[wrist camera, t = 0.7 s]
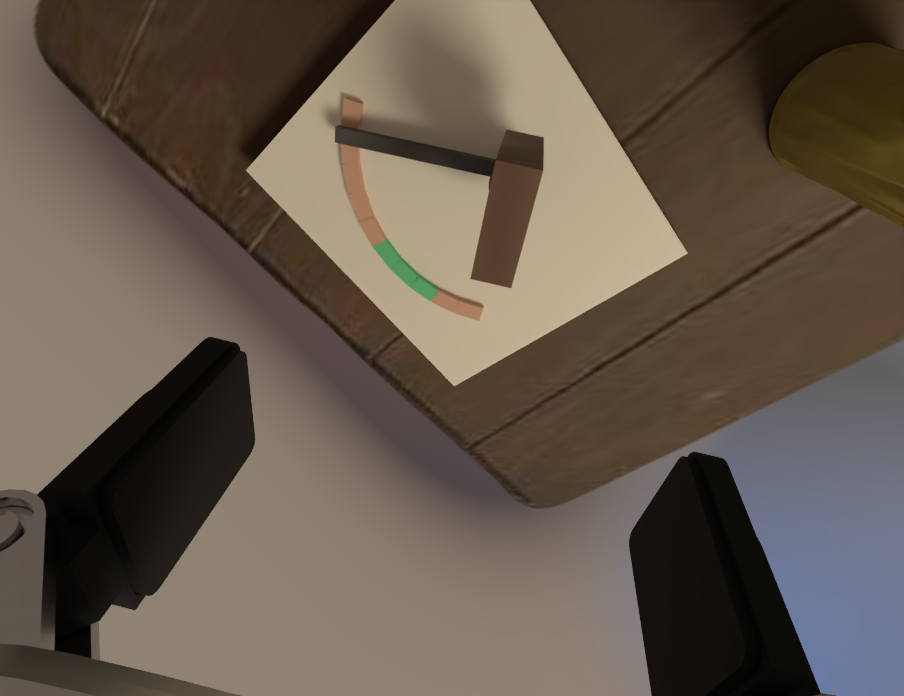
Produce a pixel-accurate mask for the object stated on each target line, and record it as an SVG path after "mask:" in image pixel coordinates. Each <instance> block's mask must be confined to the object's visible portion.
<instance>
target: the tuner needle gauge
mask: <svg viewBox="0 0 904 696" xmlns="http://www.w3.org/2000/svg"><path fill="white" fill-rule="evenodd" d="M335 143H339V144H344V145H348V146H353V147H357V148H362V149H367V150H371V151H376V152H380V153H385V154H389V155H394V156H398V157H403V158H407V159H412V160H416V161H421V162H425V163H430V164H435V165H439V166H444V167H448V168H453V169H457V170H462V171H466V172H471V173H475V174H480V175H484V176H489V177H490V179H489V194H488V199H487V203H486V208H485V213H484V217H483V222H482V227H481V231H480V236H479V241H478V245H477V250H476V255H475V259H474V264H473V269H472V273H471V278H470V279H472V280H477V281H481V282H486V283H490V284H494V285H499V286H503V287H508V288H511V287H512V284H513V280H514V276H515V273H516V269H517V265H518V262H519V258H520V254H521V251H522V247H523V243H524V240H525V236H526V232H527V229H528V225H529V221H530V218H531V214H532V210H533V207H534V203H535V199H536V196H537V192H538V188H539V185H540V181H541V177H542V174H543V160H544V137H540V136H535V135H530V134H526V133H521V132H517V131H512V130H507V129H506V132H505V135H504V138H503V141H502V143H501V146H500V149H499V152H498V155H497V158H496V159H492V158H487V157H483V156H478V155H474V154H469V153H465V152H460V151H455V150H451V149H446V148H442V147H437V146H433V145H428V144H424V143H419V142H414V141H410V140H405V139H401V138H396V137H392V136H387V135H382V134H378V133H373V132H369V131H364V130H360V129H355V128H350V127H346V126H341V125H338V126H336V127H335Z"/></svg>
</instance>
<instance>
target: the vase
mask: <svg viewBox="0 0 904 696" xmlns="http://www.w3.org/2000/svg"><path fill="white" fill-rule="evenodd" d="M769 141H770V146H771V150H772V152H773V154H774V156H775V157H776V159H777V160H778V161H779V162H780V163H781V164H782V166H784V167H785V168H786V169H787V170H789V171H790V172H792V173H796V174H800V175H803V176H805V177H807V178H809V179H811V180H813V181H816V182H818V183H820V184H822V185H823V186H825V187H828V188H830V189H832V190H834V191H836V192H839V193H840V194H842V195H844V196H846V197H847V198H849V199H851V200H853V201H855V202H857V203H858V204H860V205H862V206H864V207H866V208H868V209H870V210H872V211H874V212H876V213H878V214H880V215H882V216H884V217H886V218H887V219H889V220H891V221H893V222H895V223H897V224H899V225H901V226H903V227H904V50H900V49H895V48H889V47H887V46H884V45H881V44H879V43H859V44H852V45H847V46H843V47H840V48H837V49H834V50H832V51H830V52H828V53H826V54H824V55H822V56H820V57H819V58H817V59H815V60H814V61H812V62H811V63H810V64H808V65H807V66H806V67H805V68H804V69H802V70H801V71H800V72H799V73H798V74H797V75H796V76H795V77H794V78H793V79H792V80H791V81H790V83H789V84H788V85H787V87H786V88H785V89H784V91H783V92H782V94H781V96H780V97H779V99H778V101H777V103H776V106H775V108H774V111H773V114H772V117H771V120H770V125H769Z"/></svg>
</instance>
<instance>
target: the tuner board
mask: <svg viewBox="0 0 904 696" xmlns="http://www.w3.org/2000/svg"><path fill="white" fill-rule="evenodd" d="M338 125H341V126H346V127H350V128H355V129H360V130H364V131H369V132H373V133H378V134H382V135H387V136H392V137H396V138H401V139H405V140H410V141H414V142H419V143H424V144H428V145H433V146H437V147H442V148H446V149H451V150H455V151H460V152H465V153H469V154H474V155H478V156H483V157H487V158H492V159H496V158H497V155H498V152H499V149H500V146H501V143H502V141H503V138H504V135H505V132H506V129H507V130H512V131H517V132H521V133H526V134H530V135H535V136H540V137H544V160H543V174H542V177H541V181H540V185H539V188H538V192H537V196H536V199H535V203H534V207H533V210H532V214H531V218H530V221H529V225H528V229H527V232H526V236H525V240H524V243H523V247H522V251H521V254H520V258H519V262H518V265H517V269H516V273H515V276H514V280H513V284H512V287H511V288H508V287H503V286H499V285H494V284H490V283H486V282H481V281H477V280H472V279H470V278H471V273H472V269H473V264H474V259H475V255H476V250H477V245H478V241H479V236H480V231H481V227H482V222H483V217H484V213H485V208H486V203H487V199H488V194H489V179H490V177H489V176H484V175H480V174H475V173H471V172H466V171H462V170H457V169H453V168H448V167H444V166H439V165H435V164H430V163H425V162H421V161H416V160H412V159H407V158H403V157H398V156H394V155H389V154H385V153H380V152H376V151H371V150H367V149H362V148H357V147H353V146H348V145H344V144H339V143H335V127H336V126H338ZM246 171H247V172H248V173H249V174H250V175H251V176H252V177H253V178H254V179H255V180H256V181H257V182H258V183H259V184H260V186H261V187H262V188H263V189H264V190H265V191H266V192H267V193H268V194H269V195H270V196H271V197H272V198H273V199H274V200H275V201H276V202H277V203H278V204H279V205H280V206H281V207H282V208H283V209H284V210H285V211H286V212H287V213H288V215H289V216H290V217H291V218H292V219H293V220H294V221H295V222H296V223H297V224H298V225H299V226H300V227H301V228H302V229H303V230H304V231H305V232H306V233H307V234H308V235H309V236H310V237H311V238H312V239H313V240H314V241H315V243H316V244H317V245H318V246H319V247H320V248H321V249H322V250H323V251H324V252H325V253H326V254H327V255H328V256H329V257H330V258H331V259H332V260H333V261H334V262H335V263H336V264H337V265H338V266H339V267H340V268H341V269H342V270H343V272H344V273H345V274H346V275H347V276H348V277H349V278H350V279H351V280H352V281H353V282H354V283H355V284H356V285H357V286H358V287H359V288H360V289H361V290H362V291H363V292H364V293H365V294H366V295H367V296H368V297H369V298H370V299H371V301H372V302H373V303H374V304H375V305H376V306H377V307H378V308H379V309H380V310H381V311H382V312H383V313H384V314H385V315H386V316H387V317H388V318H389V319H390V320H391V321H392V322H393V323H394V324H395V325H396V326H397V327H398V328H399V330H400V331H401V332H402V333H403V334H404V335H405V336H406V337H407V338H408V339H409V340H410V341H411V342H412V343H413V344H414V345H415V346H416V347H417V348H418V349H419V350H420V351H421V352H422V353H423V354H424V355H425V356H426V357H427V359H428V360H429V361H430V362H431V363H432V364H433V365H434V366H435V367H436V368H437V369H438V370H439V371H440V372H441V373H442V374H443V375H444V376H445V377H446V378H447V379H448V380H449V381H450V382H451V383H452V384H453V385H454V386H455V385H457V384H459V383H461V382H463V381H464V380H466V379H468V378H470V377H471V376H473V375H475V374H477V373H478V372H480V371H482V370H484V369H485V368H487V367H489V366H491V365H492V364H494V363H496V362H498V361H499V360H501V359H503V358H505V357H506V356H508V355H510V354H512V353H513V352H515V351H517V350H519V349H521V348H522V347H524V346H526V345H528V344H529V343H531V342H533V341H535V340H536V339H538V338H540V337H542V336H543V335H545V334H547V333H549V332H550V331H552V330H554V329H556V328H557V327H559V326H561V325H563V324H564V323H566V322H568V321H570V320H571V319H573V318H575V317H577V316H579V315H580V314H582V313H584V312H586V311H587V310H589V309H591V308H593V307H594V306H596V305H598V304H600V303H601V302H603V301H605V300H607V299H608V298H610V297H612V296H614V295H615V294H617V293H619V292H621V291H622V290H624V289H626V288H628V287H629V286H631V285H633V284H635V283H637V282H638V281H640V280H642V279H644V278H645V277H647V276H649V275H651V274H652V273H654V272H656V271H658V270H659V269H661V268H663V267H665V266H666V265H668V264H670V263H672V262H673V261H675V260H677V259H679V258H680V257H682V256H684V255H686V254H687V251H686V250H685V248H684V246H683V245H682V243H681V242H680V240H679V238H678V237H677V235H676V233H675V232H674V230H673V229H672V227H671V225H670V224H669V222H668V221H667V219H666V217H665V216H664V214H663V213H662V211H661V209H660V208H659V206H658V205H657V203H656V201H655V200H654V198H653V197H652V195H651V193H650V192H649V190H648V189H647V187H646V185H645V184H644V182H643V181H642V179H641V177H640V176H639V174H638V173H637V171H636V169H635V168H634V166H633V165H632V163H631V161H630V160H629V158H628V157H627V155H626V153H625V152H624V150H623V148H622V147H621V145H620V144H619V142H618V140H617V139H616V137H615V136H614V134H613V132H612V131H611V129H610V128H609V126H608V124H607V123H606V121H605V120H604V118H603V116H602V115H601V113H600V112H599V110H598V108H597V107H596V105H595V104H594V102H593V100H592V99H591V97H590V96H589V94H588V92H587V91H586V89H585V88H584V86H583V84H582V83H581V81H580V80H579V78H578V76H577V75H576V73H575V71H574V70H573V68H572V67H571V65H570V63H569V62H568V60H567V59H566V57H565V55H564V54H563V52H562V51H561V49H560V47H559V46H558V44H557V43H556V41H555V39H554V38H553V36H552V35H551V33H550V31H549V30H548V28H547V27H546V25H545V23H544V22H543V20H542V19H541V17H540V15H539V14H538V12H537V11H536V9H535V7H534V6H533V4H532V3H531V1H530V0H395V1H394V2H393V3H392V4H391V5H390V6H389V8H388V9H387V10H386V11H385V12H384V13H383V14H382V16H381V17H380V18H379V19H378V20H377V21H376V22H375V24H374V25H373V26H372V27H371V28H370V29H369V30H368V32H367V33H366V34H365V35H364V36H363V37H362V38H361V40H360V41H359V42H358V43H357V44H356V45H355V46H354V48H353V49H352V50H351V51H350V52H349V53H348V54H347V56H346V57H345V58H344V59H343V60H342V61H341V62H340V64H339V65H338V66H337V67H336V68H335V69H334V70H333V72H332V73H331V74H330V75H329V76H328V77H327V78H326V80H325V81H324V82H323V83H322V84H321V85H320V86H319V88H318V89H317V90H316V91H315V92H314V93H313V94H312V96H311V97H310V98H309V99H308V100H307V101H306V102H305V104H304V105H303V106H302V107H301V108H300V109H299V110H298V112H297V113H296V114H295V115H294V116H293V117H292V118H291V120H290V121H289V122H288V123H287V124H286V125H285V126H284V128H283V129H282V130H281V131H280V132H279V133H278V134H277V136H276V137H275V138H274V139H273V140H272V141H271V142H270V144H269V145H268V146H267V147H266V148H265V149H264V150H263V152H262V153H261V154H260V155H259V156H258V157H257V158H256V160H255V161H254V162H253V163H252V164H251V165H250V166H249V168H248V169H247V170H246Z"/></svg>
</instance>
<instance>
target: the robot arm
mask: <svg viewBox="0 0 904 696" xmlns="http://www.w3.org/2000/svg"><path fill="white" fill-rule="evenodd" d="M254 443H255V433H254V423H253V413H252V404H251V395H250V385H249V375H248V365H247V357H246V354H245V352H242V351H240V347H239V346H238V344H237V343H234V342H229V341H225V340H221V339H217V338H213V337H208V338H206V339H205V340H204V341H202V342H201V343H200V344H199V345H198V346H197V347H196V348H195V349H194V350H193V351H192V352H191V353H190V354H189V355H187V357H185V358H184V359H183V360H182V361H181V362H180V363H179V364H178V365H177V366H176V367H175V368H174V369H173V370H172V371H171V372H169V373H168V374H167V375H166V376H165V377H164V378H163V379H162V380H161V381H160V382H159V383H158V384H157V385H156V386H155V387H154V388H153V389H151V390H150V391H148V392H147V393H145V394H144V395H143V396H142V397H141V398H139V399H138V400H137V401H136V402H135V403H134V404H133V405H132V406H131V407H130V408H129V409H128V410H127V411H126V412H125V413H124V414H123V415H121V416H120V417H119V418H118V419H117V420H116V421H115V422H114V423H113V424H112V425H111V426H110V427H109V428H108V429H106V430H105V431H104V432H103V433H102V434H101V435H100V436H99V437H98V438H97V439H96V440H95V441H94V442H93V443H92V444H91V445H90V446H88V447H87V448H86V449H85V450H84V451H83V452H82V453H81V454H80V455H79V456H78V457H77V458H76V459H75V460H74V461H72V462H71V463H70V464H69V465H68V466H67V467H66V468H65V469H64V470H63V471H62V472H61V473H60V474H59V475H58V476H57V477H56V478H54V479H53V480H52V481H51V482H50V483H49V484H48V485H47V486H46V487H45V488H44V489H43V490H42V491H41V492H39V494H37V495H36V494H34V493H31V492H28V491H25V490H3V491H0V696H239V695H236V694H231V693H228V692H224V691H220V690H216V689H212V688H209V687H205V686H201V685H197V684H193V683H189V682H186V681H182V680H178V679H174V678H170V677H166V676H163V675H159V674H154V673H150V672H146V671H142V670H138V669H133V668H129V667H125V666H121V665H117V664H113V663H108V662H104V661H100V652H99V651H100V649H99V623H98V622H99V621H100V619H101V618H102V617H103V615H104V614H105V612H106V611H107V610H108V609H109V607H110V606H111V605H112V604H113V605H117V606H121V607H125V608H129V609H133V610H136V609H137V607H138V606H139V604H140V602H141V601H142V600H143V599H144V597H145V596H146V595H147V596H150V595H153V594H154V593H155V592H156V591H157V590H158V589H159V588H160V586H161V585H162V584H163V582H164V581H165V579H166V578H167V576H168V575H169V573H170V572H171V570H172V569H173V567H174V566H175V564H176V563H177V561H178V560H179V558H180V557H181V555H182V554H183V553H184V551H185V549H186V548H187V547H188V545H189V544H190V542H191V541H192V539H193V538H194V536H195V535H196V533H197V532H198V530H199V529H200V528H201V526H202V525H203V523H204V521H205V520H206V519H207V517H208V516H209V514H210V513H211V511H212V510H213V508H214V507H215V505H216V504H217V502H218V501H219V500H220V498H221V497H222V495H223V493H224V492H225V491H226V489H227V488H228V486H229V485H230V483H231V482H232V480H233V479H234V477H235V476H236V474H237V473H238V471H239V470H240V468H241V467H242V466H243V464H244V463H245V461H246V460H247V458H248V456H249V455H250V453H251V452H252V449H253V447H254ZM629 547H630V555H631V561H632V568H633V575H634V581H635V588H636V595H637V601H638V608H639V614H640V621H641V628H642V634H643V640H644V647H645V654H646V660H647V667H648V673H649V680H650V687H651V693H652V696H835V695H828V694H821V693H820V690H819V688H818V685H817V683H816V680H815V678H814V675H813V673H812V670H811V668H810V665H809V663H808V660H807V658H806V655H805V653H804V650H803V648H802V645H801V643H800V640H799V638H798V635H797V633H796V630H795V628H794V625H793V623H792V620H791V618H790V615H789V613H788V610H787V608H786V605H785V603H784V600H783V598H782V595H781V593H780V590H779V588H778V586H777V583H776V580H775V578H774V575H773V573H772V570H771V568H770V565H769V563H768V560H767V558H766V555H765V553H764V550H763V548H762V546H761V544H760V542H759V540H758V538H757V536H756V534H755V531H754V529H753V526H752V524H751V521H750V519H749V516H748V514H747V511H746V509H745V506H744V504H743V501H742V499H741V496H740V494H739V491H738V489H737V486H736V484H735V481H734V479H733V476H732V474H731V471H730V468H729V466H728V464H727V462H726V461H725V460H724V459H723V458H719V457H715V456H711V455H706V454H702V453H698V452H692V453H690V454H689V455H688V457H683V456H682V457H680V458H679V460H678V461H677V462H676V464H675V466H674V467H673V469H672V470H671V472H670V473H669V475H668V476H667V478H666V479H665V481H664V482H663V484H662V485H661V487H660V488H659V490H658V492H657V493H656V495H655V496H654V498H653V499H652V501H651V502H650V504H649V505H648V507H647V508H646V510H645V511H644V513H643V515H642V516H641V518H640V519H639V521H638V522H637V524H636V525H635V527H634V528H633V530H632V532H631V535H630V540H629Z"/></svg>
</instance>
